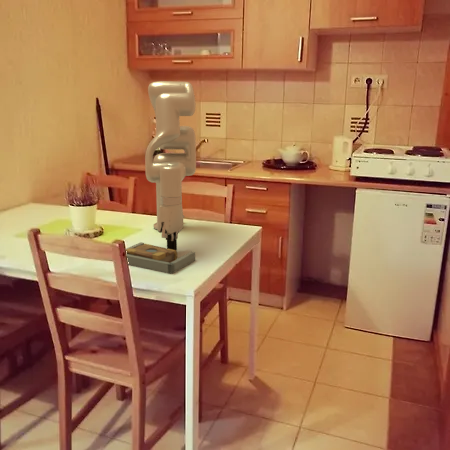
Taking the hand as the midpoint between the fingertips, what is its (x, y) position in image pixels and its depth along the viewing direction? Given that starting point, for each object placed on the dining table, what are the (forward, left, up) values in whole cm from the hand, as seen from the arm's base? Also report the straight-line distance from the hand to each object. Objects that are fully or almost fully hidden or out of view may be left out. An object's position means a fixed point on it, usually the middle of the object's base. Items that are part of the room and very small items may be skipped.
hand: (171, 250), depth 175 cm
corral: (+10, 0, -1) cm, 10 cm away
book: (+10, -1, -2) cm, 10 cm away
